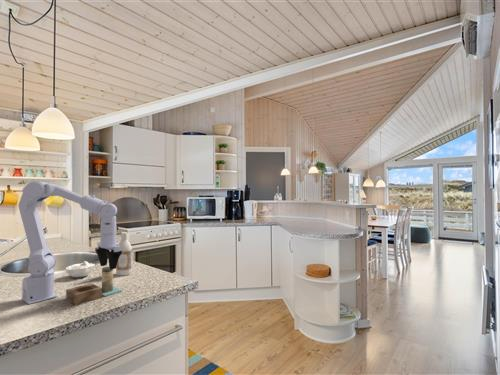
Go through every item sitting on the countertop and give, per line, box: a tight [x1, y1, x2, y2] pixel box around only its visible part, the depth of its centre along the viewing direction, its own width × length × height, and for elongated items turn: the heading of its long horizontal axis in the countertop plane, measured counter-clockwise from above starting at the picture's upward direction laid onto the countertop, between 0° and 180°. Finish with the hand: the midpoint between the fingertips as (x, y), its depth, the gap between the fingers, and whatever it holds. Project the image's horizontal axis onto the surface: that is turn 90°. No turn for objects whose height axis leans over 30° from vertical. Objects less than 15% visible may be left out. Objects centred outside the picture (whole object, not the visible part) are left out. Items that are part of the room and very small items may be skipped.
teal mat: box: [102, 286, 123, 298], centre depth 115 cm, size 7×9×1 cm
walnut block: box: [65, 283, 103, 306], centre depth 108 cm, size 9×9×4 cm
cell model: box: [65, 260, 96, 279], centre depth 135 cm, size 10×12×7 cm
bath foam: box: [115, 231, 133, 277], centre depth 140 cm, size 7×7×20 cm
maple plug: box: [101, 266, 114, 292], centre depth 115 cm, size 4×4×9 cm
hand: (108, 267), depth 115 cm, fingers open, 7 cm apart
